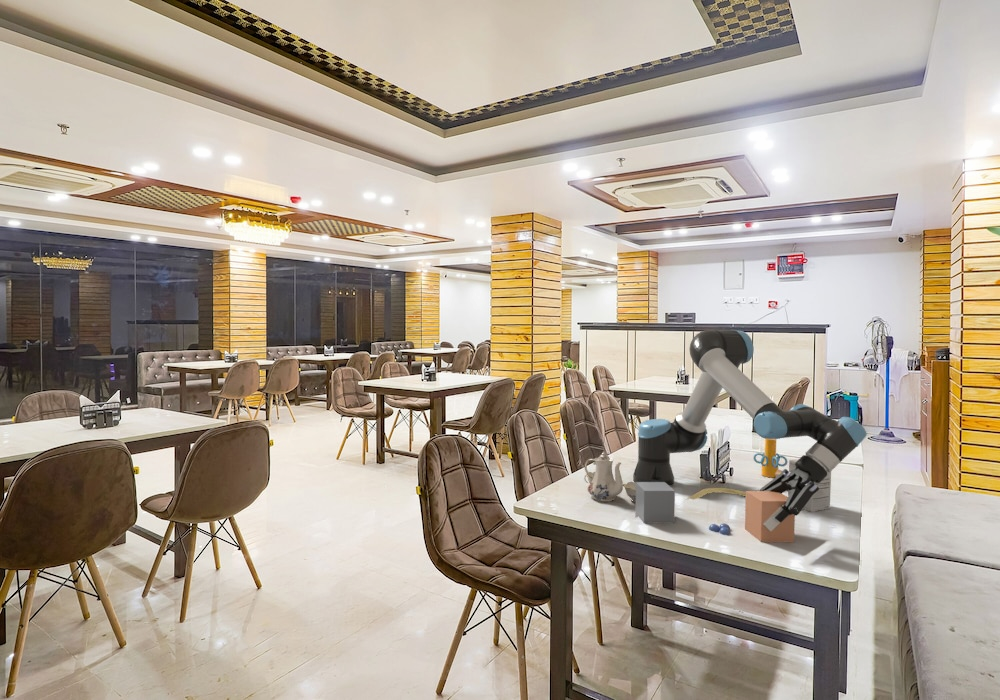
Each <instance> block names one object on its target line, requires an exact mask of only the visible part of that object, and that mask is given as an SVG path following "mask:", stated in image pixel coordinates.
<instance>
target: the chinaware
mask: <svg viewBox="0 0 1000 700" xmlns="http://www.w3.org/2000/svg"><path fill="white" fill-rule="evenodd" d="M590 461H593V462H592V465H594V466H595V471H594V472H591V471H588V468H587V466H588V463H589V462H590ZM613 462H614V459H613V458H611V457H609V455H607V453H606V451H603V452H602V453H601V454H600V455H599V456H598V457H595V458H588V459H587V460H586V461H585V462H584V471H585V472H586V473H585V475H584V479H583V480H584V481H585V482H586V483H587V484H589V485H588V487H587V492H588V494H589V495H591V496H590V497H591V499H592V498H593V500H594V499H595V500H594V501H597V500H599V501H598V502H604V501H608V502H613V501H612V500H614V501H616V500H617V496H619V495H620V494H621V493H623V489H625V493H626V495H627V497H628V498H630V499H632V500H633V501H636V482H634V481H628V482H626V483H624V481H623V478H622V474H621V471H620V466H621V465H622V462H617V463H616V464H615V466H614V474H613ZM586 477H587V479H586ZM587 480H588V481H587ZM632 500H631V501H632ZM633 501H632V502H633Z"/></svg>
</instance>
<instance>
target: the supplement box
mask: <svg viewBox="0 0 1000 700" xmlns="http://www.w3.org/2000/svg"><path fill="white" fill-rule="evenodd" d="M799 459H800V458H796V459H789V462H788V463H789V464H788V465H789V466H788V471H789V472H792V471H793V470H795V469H796V466H795V463H796V462H797V461H798V460H799ZM814 484H815V485H816V486H817V487H818V488H819V490H818V491H817V492H816V493H814V494H813V495H812V497H811V498H810V499H809V501H808V502H807V503H806V505H805V506H804V507H803V509H802V510H805V511H807V512H811V513H813V512H817V511H818V510H819V511H823V510H824V509H825V510H830V509H831V485H832V471H831V472H827V476H826V477H825V478H824V479H823V480H822V481H821V482H820V483H815V482H814ZM787 491H788V492H787V493H788V494H787V495H788V496H789V494H790V492H791V490H787ZM788 496H787V497H788ZM825 510H824V511H825ZM819 511H818V512H819Z"/></svg>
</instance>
